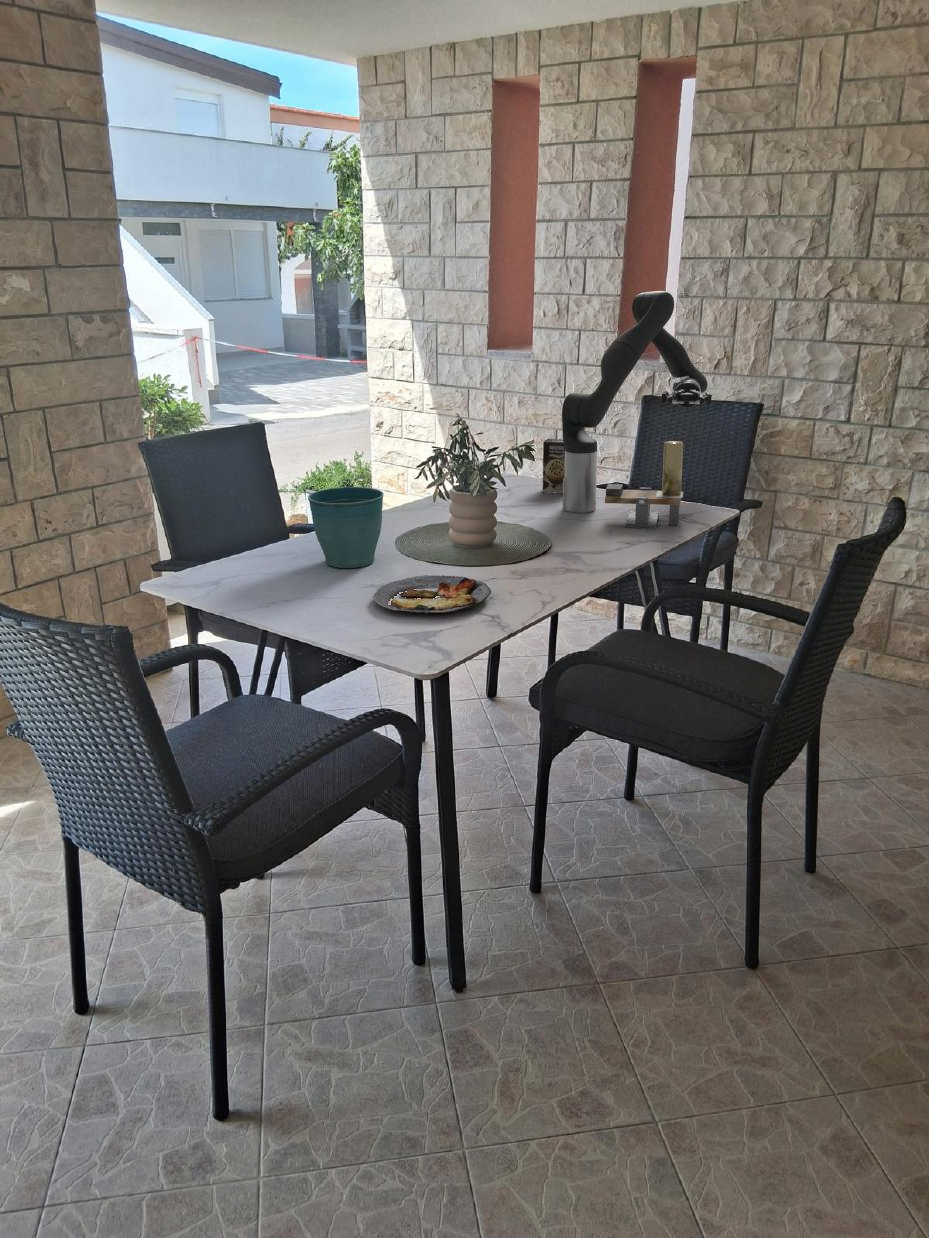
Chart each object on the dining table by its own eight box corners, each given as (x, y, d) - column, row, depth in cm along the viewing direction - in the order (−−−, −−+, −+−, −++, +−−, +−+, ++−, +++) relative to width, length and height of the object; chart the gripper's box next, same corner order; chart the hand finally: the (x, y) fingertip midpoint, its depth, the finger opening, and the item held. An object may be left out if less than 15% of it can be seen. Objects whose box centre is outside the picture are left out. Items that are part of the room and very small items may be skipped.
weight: (661, 496, 252) (663, 444, 247) (662, 492, 257) (664, 441, 252) (680, 496, 251) (683, 444, 246) (681, 492, 256) (683, 441, 251)
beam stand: (625, 527, 253) (626, 498, 250) (630, 514, 266) (631, 486, 263) (676, 530, 250) (678, 500, 247) (679, 517, 263) (681, 488, 260)
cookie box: (541, 493, 294) (542, 441, 288) (546, 488, 300) (546, 438, 294) (570, 494, 291) (571, 442, 286) (574, 489, 297) (575, 439, 291)
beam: (604, 503, 254) (605, 490, 253) (609, 494, 263) (609, 482, 262) (681, 505, 249) (682, 492, 248) (683, 496, 258) (683, 484, 257)
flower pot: (343, 548, 242) (338, 483, 236) (401, 557, 233) (398, 490, 227) (298, 567, 227) (292, 498, 221) (358, 577, 218) (353, 506, 212)
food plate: (499, 585, 210) (499, 570, 209) (478, 623, 189) (477, 607, 188) (393, 583, 216) (392, 568, 215) (361, 619, 195) (359, 603, 194)
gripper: (664, 380, 282) (660, 387, 267) (713, 380, 278) (712, 387, 263) (663, 405, 284) (659, 413, 270) (711, 406, 281) (710, 414, 266)
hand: (685, 400), depth 267 cm, fingers open, 8 cm apart
